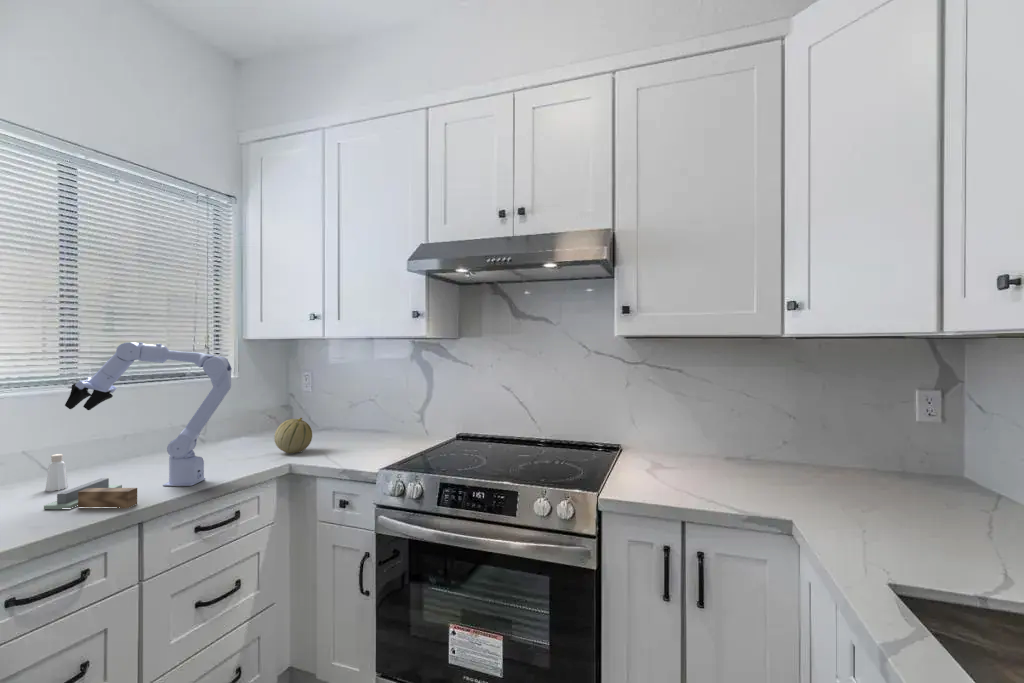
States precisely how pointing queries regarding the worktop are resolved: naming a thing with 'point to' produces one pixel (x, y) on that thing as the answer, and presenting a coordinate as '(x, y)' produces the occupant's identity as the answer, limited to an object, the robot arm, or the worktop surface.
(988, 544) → the worktop surface
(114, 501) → the walnut bar
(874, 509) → the worktop surface
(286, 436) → the cantaloupe
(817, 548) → the worktop surface
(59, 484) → the pepper shaker
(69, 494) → the ridge stand
